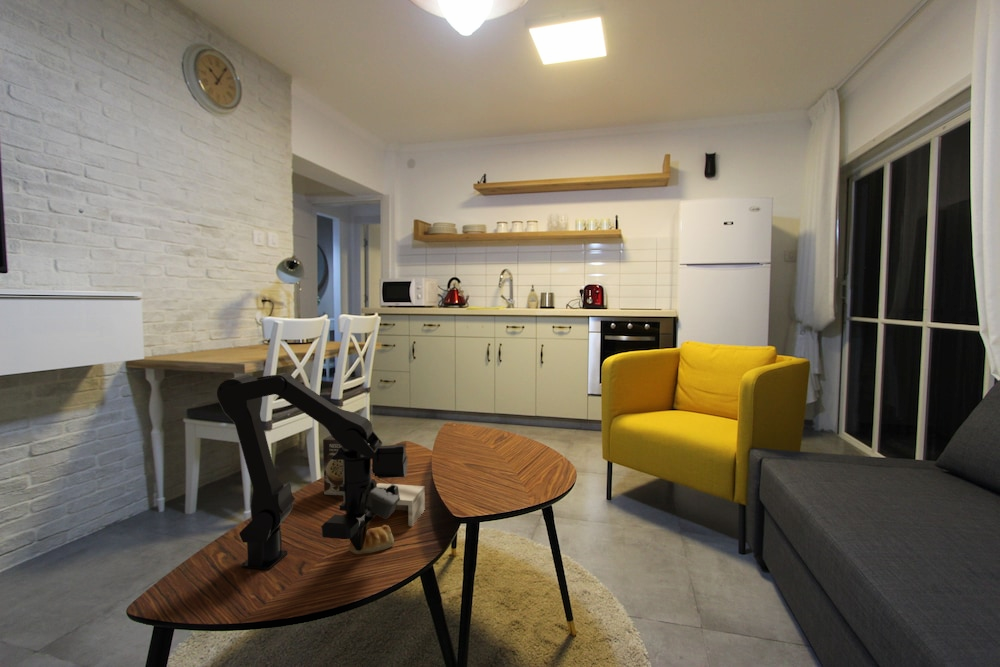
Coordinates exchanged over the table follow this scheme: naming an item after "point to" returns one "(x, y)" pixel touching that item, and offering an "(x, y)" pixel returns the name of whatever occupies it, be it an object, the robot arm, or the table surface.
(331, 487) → the coffee box
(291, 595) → the table surface
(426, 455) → the table surface
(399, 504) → the plain beige box
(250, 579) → the table surface
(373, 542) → the pastry
